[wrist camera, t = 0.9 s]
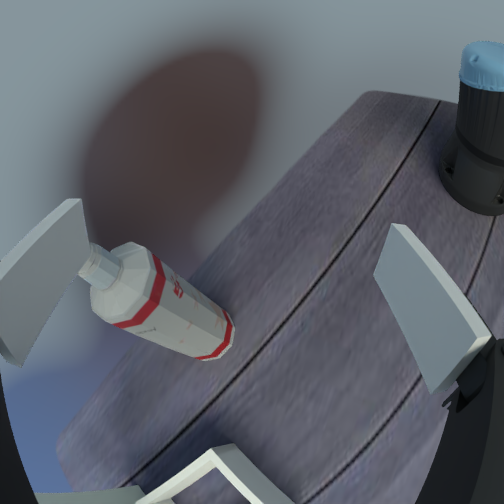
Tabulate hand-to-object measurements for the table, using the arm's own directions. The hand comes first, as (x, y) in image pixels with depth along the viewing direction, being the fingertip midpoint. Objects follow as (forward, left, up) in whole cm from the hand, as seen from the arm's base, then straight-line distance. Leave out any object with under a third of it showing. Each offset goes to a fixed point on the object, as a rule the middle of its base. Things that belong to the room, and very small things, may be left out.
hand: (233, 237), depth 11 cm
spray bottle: (+8, -13, -26) cm, 30 cm away
